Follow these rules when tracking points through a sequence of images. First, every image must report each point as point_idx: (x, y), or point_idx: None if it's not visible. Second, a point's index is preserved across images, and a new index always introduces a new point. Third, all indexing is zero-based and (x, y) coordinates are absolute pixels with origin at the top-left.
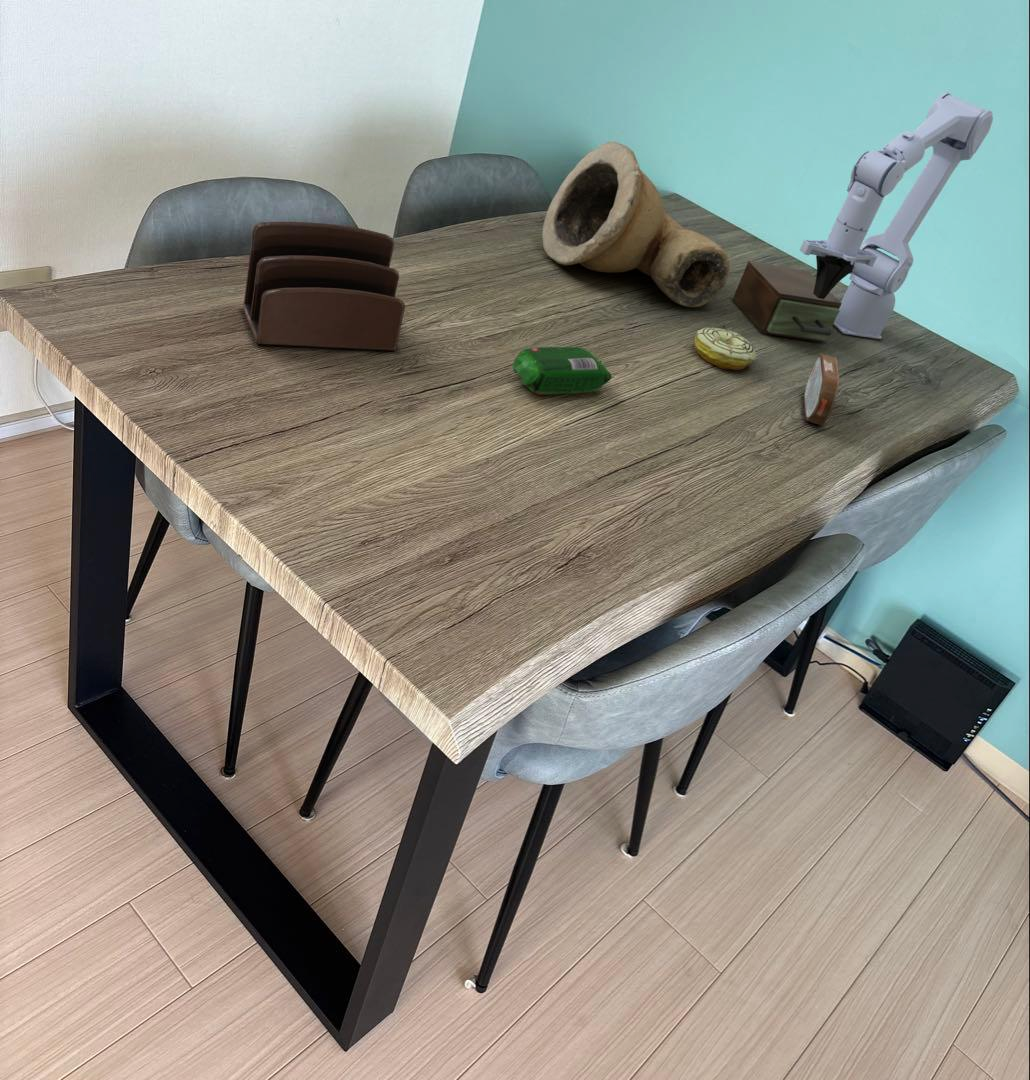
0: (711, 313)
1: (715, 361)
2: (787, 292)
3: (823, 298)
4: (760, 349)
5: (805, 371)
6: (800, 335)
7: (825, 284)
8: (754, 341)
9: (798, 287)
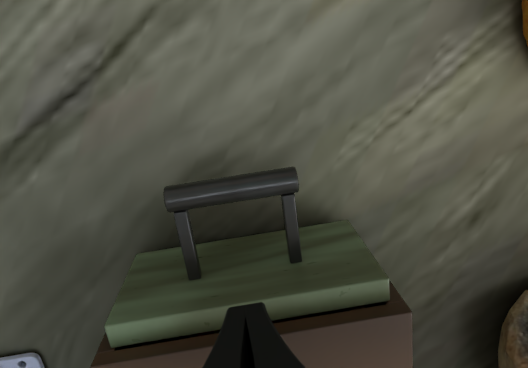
0: (475, 286)
1: None
2: (362, 340)
3: (234, 307)
4: (408, 113)
5: (288, 5)
6: (234, 240)
7: (277, 345)
8: (405, 163)
9: None
